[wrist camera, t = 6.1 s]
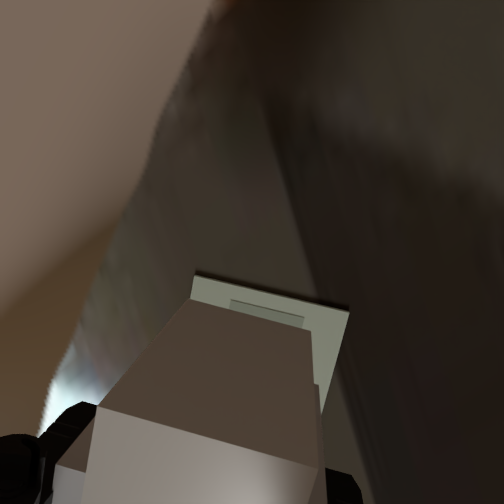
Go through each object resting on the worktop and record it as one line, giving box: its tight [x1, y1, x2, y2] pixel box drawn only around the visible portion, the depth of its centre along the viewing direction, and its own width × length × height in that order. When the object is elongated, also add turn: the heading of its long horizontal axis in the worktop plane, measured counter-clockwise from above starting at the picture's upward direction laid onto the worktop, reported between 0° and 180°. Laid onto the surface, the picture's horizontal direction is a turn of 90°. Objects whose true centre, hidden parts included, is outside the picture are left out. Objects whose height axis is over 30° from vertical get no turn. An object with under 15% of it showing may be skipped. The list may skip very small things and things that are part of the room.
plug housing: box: [81, 299, 319, 504], centre depth 12 cm, size 6×4×7 cm
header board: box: [190, 275, 349, 414], centre depth 28 cm, size 14×10×3 cm
